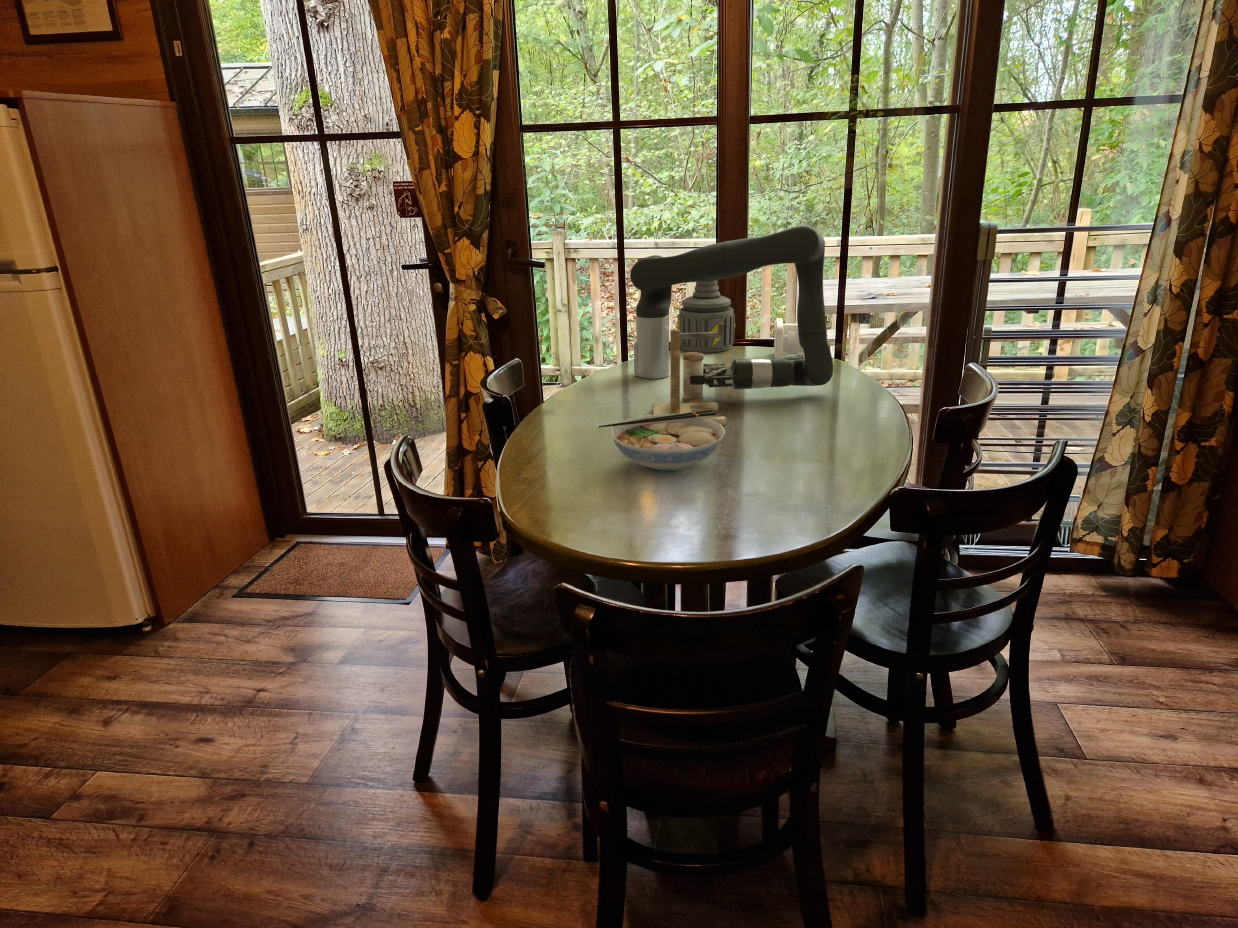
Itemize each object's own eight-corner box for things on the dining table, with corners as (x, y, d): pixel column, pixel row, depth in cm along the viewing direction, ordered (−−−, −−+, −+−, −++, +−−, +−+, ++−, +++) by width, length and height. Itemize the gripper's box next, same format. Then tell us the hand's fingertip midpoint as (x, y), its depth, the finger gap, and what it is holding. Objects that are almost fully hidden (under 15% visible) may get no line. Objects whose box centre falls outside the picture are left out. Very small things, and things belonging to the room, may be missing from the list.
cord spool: (679, 402, 200) (679, 355, 195) (687, 397, 204) (687, 351, 200) (698, 404, 197) (698, 357, 193) (706, 399, 202) (706, 353, 197)
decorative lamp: (721, 339, 269) (723, 249, 259) (743, 351, 252) (746, 255, 242) (669, 344, 265) (669, 252, 254) (688, 355, 248) (688, 258, 237)
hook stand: (716, 407, 194) (718, 318, 186) (725, 425, 181) (728, 329, 173) (652, 410, 194) (651, 320, 186) (656, 427, 181) (655, 331, 173)
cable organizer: (809, 364, 233) (812, 325, 229) (773, 364, 235) (775, 325, 231) (806, 353, 247) (809, 316, 243) (772, 352, 249) (774, 316, 245)
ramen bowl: (623, 494, 145) (622, 452, 142) (593, 454, 165) (592, 416, 162) (748, 477, 151) (750, 437, 148) (705, 440, 171) (705, 404, 168)
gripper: (746, 353, 204) (684, 355, 204) (757, 366, 191) (691, 368, 190) (745, 381, 207) (684, 383, 206) (756, 395, 193) (690, 398, 193)
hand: (687, 376), depth 198 cm, fingers open, 8 cm apart
